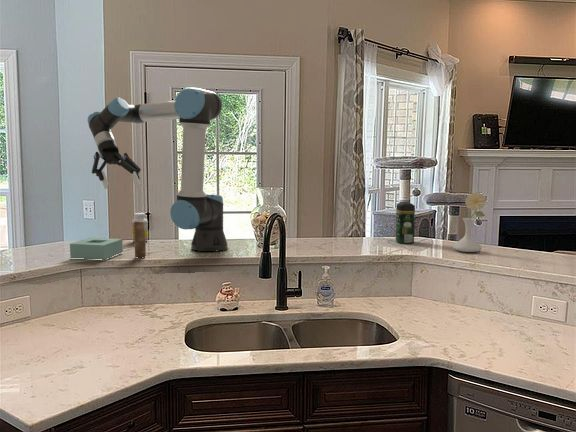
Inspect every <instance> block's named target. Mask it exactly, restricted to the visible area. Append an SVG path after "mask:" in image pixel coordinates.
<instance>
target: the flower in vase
mask: <svg viewBox="0 0 576 432" xmlns="http://www.w3.org/2000/svg"><path fill="white" fill-rule="evenodd" d="M464 201H465V202H464V203H465V206H466V208H468V209H469V210H472V211H474V212H473V214H470V213H469V212H467V211H465V210H462V211H463V212H464V213H465V214H467V215H469V216H470V217H463V218H462V221H463V222H464V225H465V234H464V236H463V237H462V238H461V239H459V240H458V241H457V242H455V244H453V249H454V250H456V251H459V252H463V253H476V252H480V251H482V249H483V247H482V246H481V244H480V243H479V242H478V241H476V240H475V239H474V238H473V237H472V227H473V224H474V222H475V220H476V218H477V217H478V218H479V217H480V218H481V217H485V216H486V214H485V213H484V212H483V211H481V209H483V208H484V206H485V205H486V203H487V200H486V196H485V195H484V194H482V193H480V192H478V191H475V192H471V194H470V193H469V194H468V195H467V197H466V199H465V200H464ZM474 215H475V216H476V218H473V217H474Z"/></svg>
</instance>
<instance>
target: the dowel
mask: <svg viewBox="0 0 576 432" xmlns="http://www.w3.org/2000/svg"><path fill="white" fill-rule="evenodd" d="M134 238H135V242H134V258H135V257H138V258H142V257H145V256H146V257H147V253H146V251H147V250H146V249H147V248H146V242H145V221H135V222H134ZM142 259H143V258H142Z"/></svg>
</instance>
